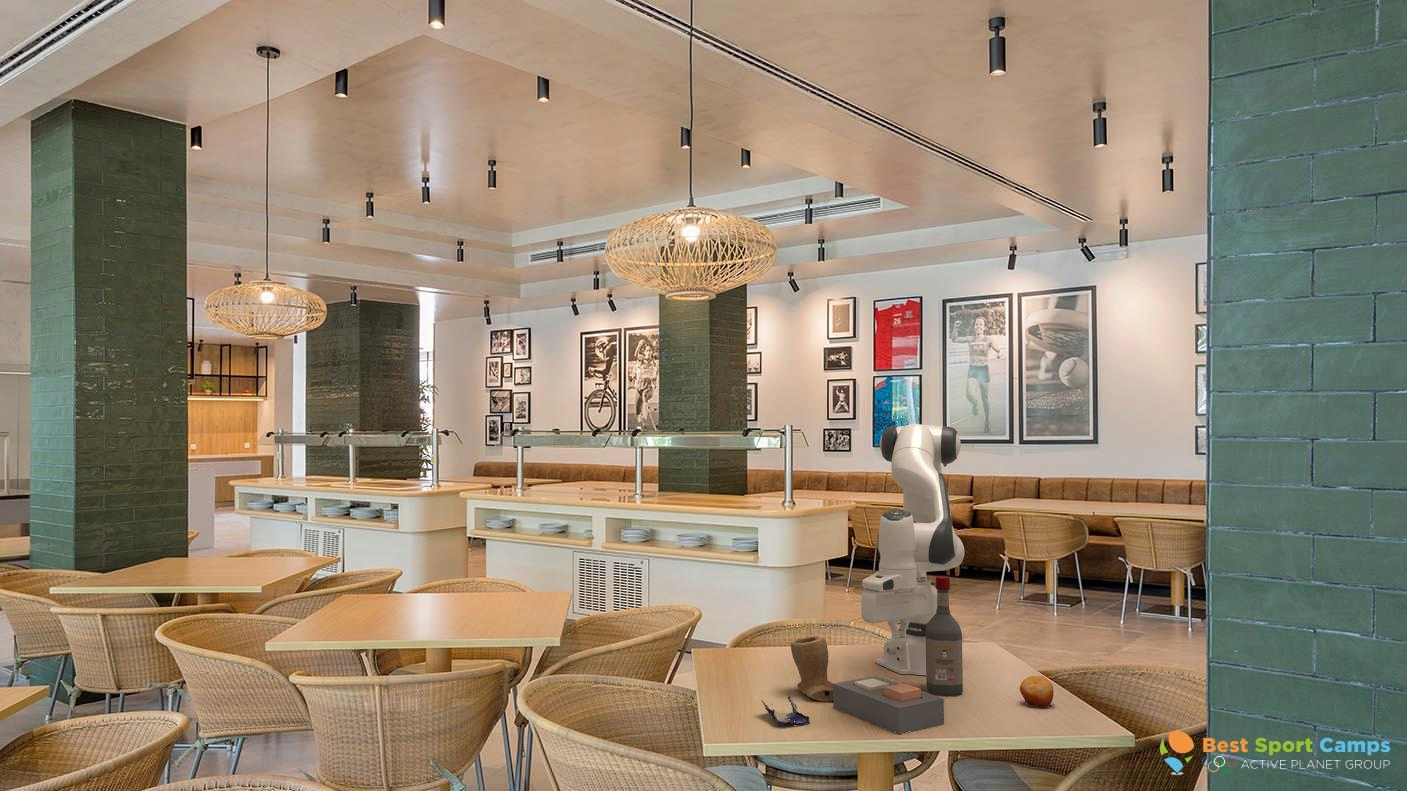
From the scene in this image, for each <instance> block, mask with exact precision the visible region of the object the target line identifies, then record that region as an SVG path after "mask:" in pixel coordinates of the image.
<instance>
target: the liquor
mask: <svg viewBox="0 0 1407 791" xmlns="http://www.w3.org/2000/svg"><path fill="white" fill-rule="evenodd" d="M935 587H936V589H937V610H936V614H935V615H934V616H933V617H932V618H931V620H930V621H929V622H928V623H927V625H926V675H925V680H926V690H927V693H929V694H932V695H935V696H942V697H944V696H945V697H957V696H961V695H962V694H963V691H964V684H963V683H964V682H963V681H964V680H963V674H964V673H963V633H962V629H961V627H960V623H958V621H957V620H956V619H955V618H954V617H953V616H952V614H951V611H950V610H951V609H950V590H951V578H950V577H949V576H945V575H944V576H943V575H941V576H935Z"/></svg>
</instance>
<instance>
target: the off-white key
mask: <svg viewBox="0 0 1407 791" xmlns="http://www.w3.org/2000/svg"><path fill="white" fill-rule="evenodd" d="M855 686H858V687H860V688H863V689H866V690H869V691H873V690H878V689H884V687H886V686H889V684H888V683H885V682H882V681H879V680H876V679H874V678H872V679H867V680H862V681H856V682H855Z"/></svg>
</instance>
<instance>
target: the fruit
mask: <svg viewBox="0 0 1407 791" xmlns="http://www.w3.org/2000/svg"><path fill="white" fill-rule="evenodd" d="M1022 680H1023V681H1021V684H1020V685H1019V691H1020V694H1021V696H1022V698H1023V699H1024V701H1025V702H1026V704H1027V705H1028V706H1030V707H1031V706H1032V707H1042V708H1046V707H1049V706H1051V704H1052V702H1053V698H1054V691H1055V690H1054V686H1053V683H1052V682H1051V681H1050V680H1048V679H1047V677H1045V676H1043V675H1032V676H1027V678H1025V679H1022Z"/></svg>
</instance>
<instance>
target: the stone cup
mask: <svg viewBox="0 0 1407 791" xmlns="http://www.w3.org/2000/svg"><path fill="white" fill-rule="evenodd" d="M790 648H791V649H790V650H791V656H792V659H793V661H794V663H795V665H796V668H797V670H798V674H799V675H800V676H799V677H800V682H798V683H797V689H798V690H799V691H800V692H802V693H803V694H804V695H805V696H807V697H809V698H810V699H813V700H817V701H819V702H820V701H821V702H833V684H834V683H833V682H832V681H829V679H828V666H829V650H828V649H829V648H828V642H827V640H826V639H825V638H824V637H823V636H821V637H820V636H818V635H811V636H806V637H800V638H796V639H794V640H792V641H791V643H790Z"/></svg>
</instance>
